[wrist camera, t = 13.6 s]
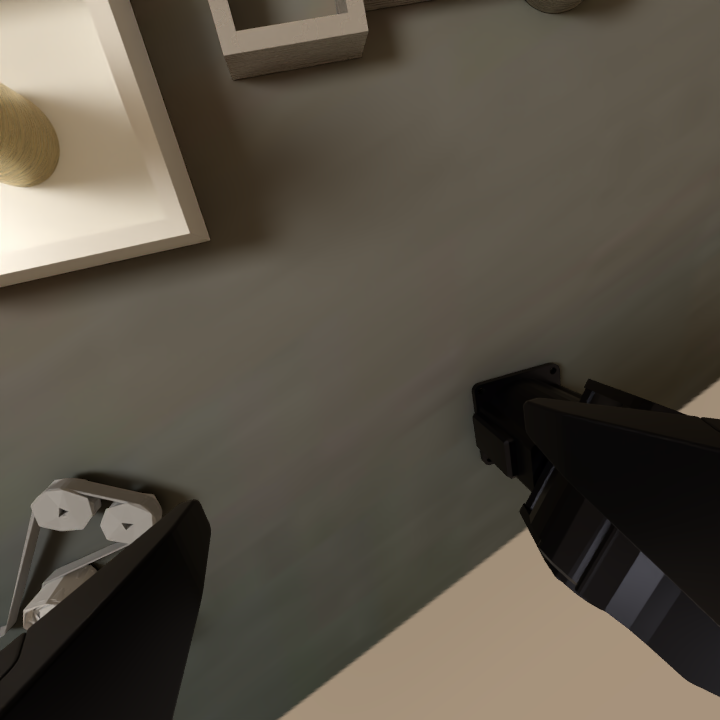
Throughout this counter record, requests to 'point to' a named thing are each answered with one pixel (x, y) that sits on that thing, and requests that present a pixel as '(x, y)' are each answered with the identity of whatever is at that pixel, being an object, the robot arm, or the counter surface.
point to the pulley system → (72, 512)
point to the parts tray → (91, 143)
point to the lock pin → (25, 141)
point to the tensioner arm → (311, 36)
